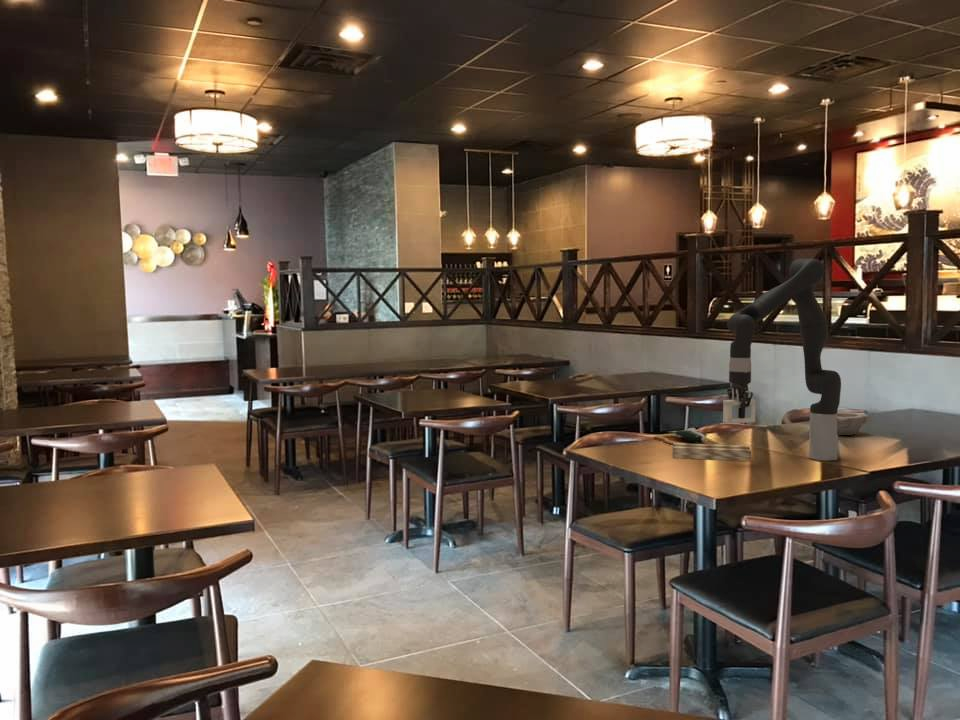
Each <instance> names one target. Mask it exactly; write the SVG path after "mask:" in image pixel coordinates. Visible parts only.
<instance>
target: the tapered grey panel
mask: <svg viewBox="0 0 960 720" xmlns="http://www.w3.org/2000/svg"><path fill="white" fill-rule="evenodd" d="M722 401H723V404H722V407H723V409H722V410H723V411H722V412H723V413H722V422H723V423H725V424H739V423H744V424H745V423H755V422H756V399H751V402H750V405H749V407H746V408H745V418H741V419H740V418H739V417H738V414H739V402H738V401H737V400H729V399H723V400H722ZM746 403H747V402H746ZM741 404H742V402H741Z"/></svg>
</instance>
